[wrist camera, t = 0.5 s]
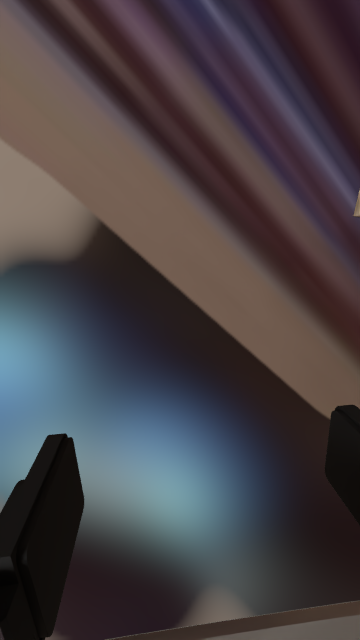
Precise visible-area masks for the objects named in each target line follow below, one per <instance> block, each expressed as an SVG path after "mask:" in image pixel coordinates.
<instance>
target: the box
mask: <svg viewBox="0 0 360 640" xmlns="http://www.w3.org/2000/svg"><path fill="white" fill-rule="evenodd" d="M354 216H357V217H360V191H359V195H358V199H357V203H356V208H355V212H354Z"/></svg>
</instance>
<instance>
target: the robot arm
mask: <svg viewBox="0 0 360 640" xmlns="http://www.w3.org/2000/svg"><path fill="white" fill-rule="evenodd" d="M325 474H326V477H327V479H328V481H329V482H330V484H331V485H332V487H333V488H334V490H335V491H336V492H337V494H338V495H339V497H340V498H341V499H342V501H343V502H344V504H345V505H346V507H347V508H348V509H349V511H350V512H351V514H352V515H353V516H354V518H355V519H356V521H357V522H358V523H359V525H360V409H359V408H358V407H356V406H355V405H344V406H337V407H336V408H335V411H332V413H331V420H330V428H329V437H328V446H327V454H326V463H325ZM83 508H84V495H83V490H82V484H81V479H80V474H79V469H78V463H77V458H76V453H75V447H74V442H73V439H72V437H70V438H68V437H67V434H55V435H48V436H47V438H46V440H45V442H44V443H43V446H42V447H41V449H40V451H39V453H38V455H37V457H36V459H35V461H34V463H33V465H32V467H31V469H30V471H29V473H28V475H27V477H26V479H25V480H21V481H19V482H18V483H17V484H16V486H15V487H14V489H13V491H12V493H11V495H10V497H9V498H8V500H7V502H6V504H5V506H4V508H3V509H2V512H1V513H0V640H45V637H50V636H51V635H52V633H53V630H54V626H55V622H56V618H57V614H58V610H59V606H60V602H61V598H62V594H63V590H64V585H65V582H66V578H67V573H68V569H69V565H70V561H71V557H72V553H73V549H74V545H75V541H76V537H77V533H78V529H79V525H80V521H81V516H82V513H83ZM108 640H360V601H354V602H347V603H340V604H333V605H326V606H319V607H313V608H306V609H299V610H292V611H286V612H279V613H272V614H266V615H259V616H253V617H247V618H239V619H233V620H226V621H220V622H214V623H207V624H201V625H194V626H188V627H182V628H176V629H169V630H163V631H156V632H150V633H143V634H137V635H131V636H125V637H119V638H114V639H108Z"/></svg>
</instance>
